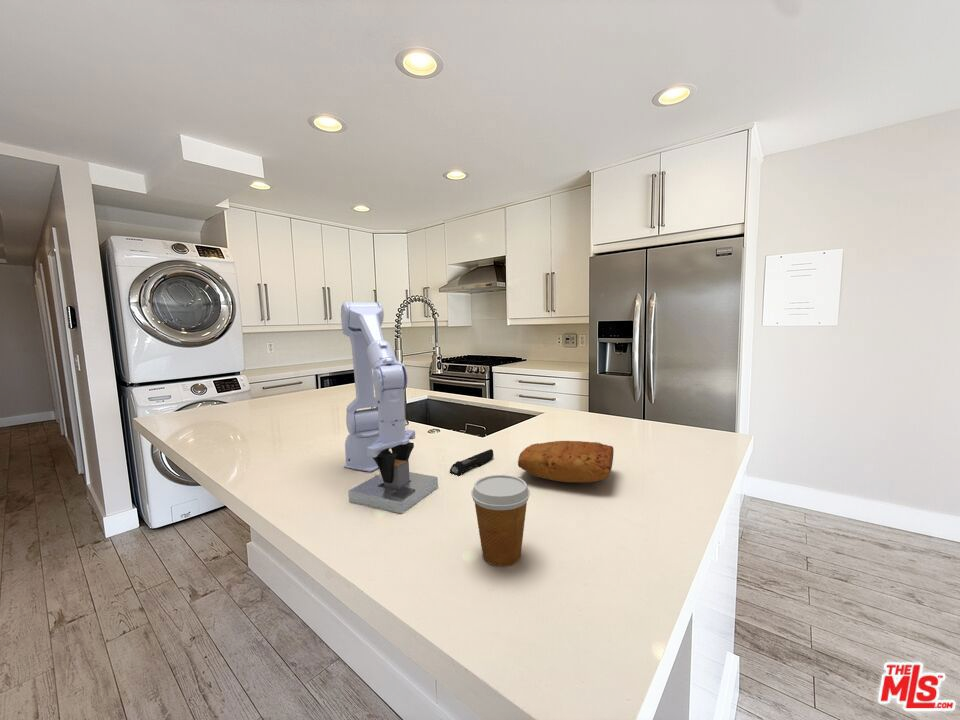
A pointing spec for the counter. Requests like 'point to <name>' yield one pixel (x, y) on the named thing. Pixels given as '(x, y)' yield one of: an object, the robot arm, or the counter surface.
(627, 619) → the counter surface
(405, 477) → the plug
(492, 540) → the disposable coffee cup
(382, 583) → the counter surface
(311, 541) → the counter surface
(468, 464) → the electric trimmer
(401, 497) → the socket plate
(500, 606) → the counter surface
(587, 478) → the baked loaf
